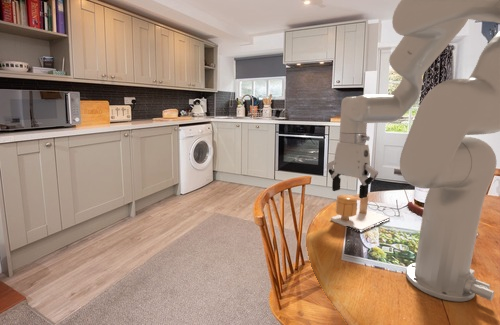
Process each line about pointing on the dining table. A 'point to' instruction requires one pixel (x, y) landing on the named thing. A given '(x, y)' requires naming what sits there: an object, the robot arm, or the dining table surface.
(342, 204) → the wooden faceted cylinder
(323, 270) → the dining table surface
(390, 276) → the dining table surface
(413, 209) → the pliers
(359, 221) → the plate
